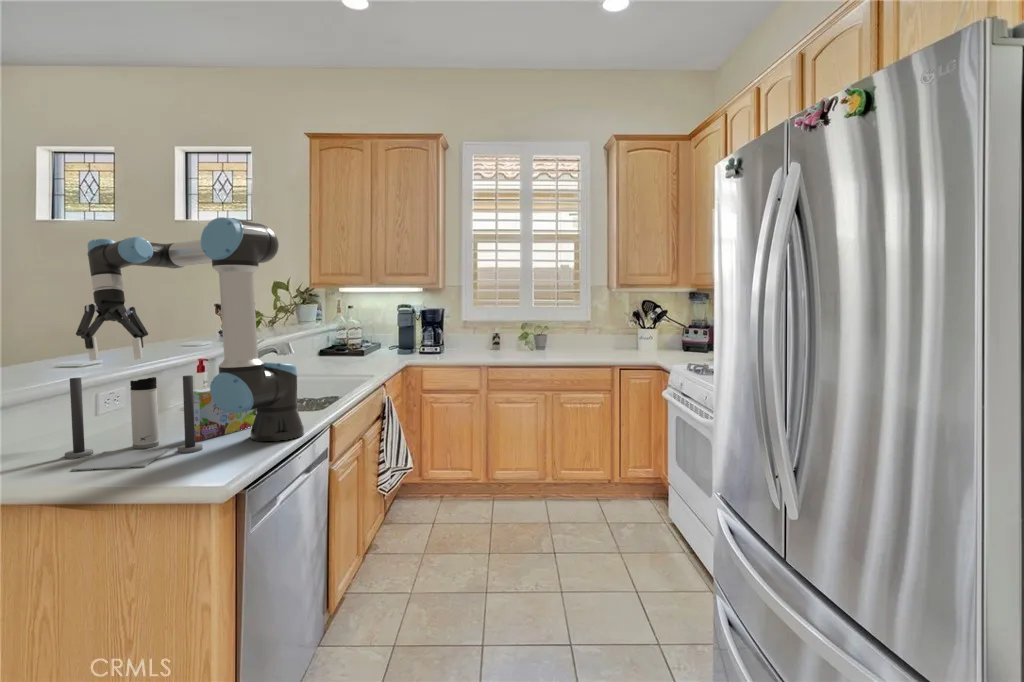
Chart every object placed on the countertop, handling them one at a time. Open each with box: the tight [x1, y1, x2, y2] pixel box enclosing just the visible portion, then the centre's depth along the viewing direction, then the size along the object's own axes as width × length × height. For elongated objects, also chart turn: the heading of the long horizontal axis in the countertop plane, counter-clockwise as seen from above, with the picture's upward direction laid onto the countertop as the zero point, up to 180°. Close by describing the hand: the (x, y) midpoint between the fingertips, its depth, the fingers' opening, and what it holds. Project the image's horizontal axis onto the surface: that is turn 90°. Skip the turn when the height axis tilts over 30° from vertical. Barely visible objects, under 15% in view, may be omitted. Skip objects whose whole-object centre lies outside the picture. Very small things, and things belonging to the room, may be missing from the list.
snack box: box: [193, 387, 257, 442], centre depth 171 cm, size 21×6×15 cm, turn 160°
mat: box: [70, 448, 170, 472], centre depth 141 cm, size 16×16×1 cm
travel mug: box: [129, 376, 160, 450], centre depth 154 cm, size 6×7×20 cm
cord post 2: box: [177, 374, 204, 454], centre depth 150 cm, size 6×6×21 cm
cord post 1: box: [64, 377, 94, 459], centre depth 144 cm, size 6×6×21 cm
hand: (117, 359), depth 163 cm, fingers open, 13 cm apart
